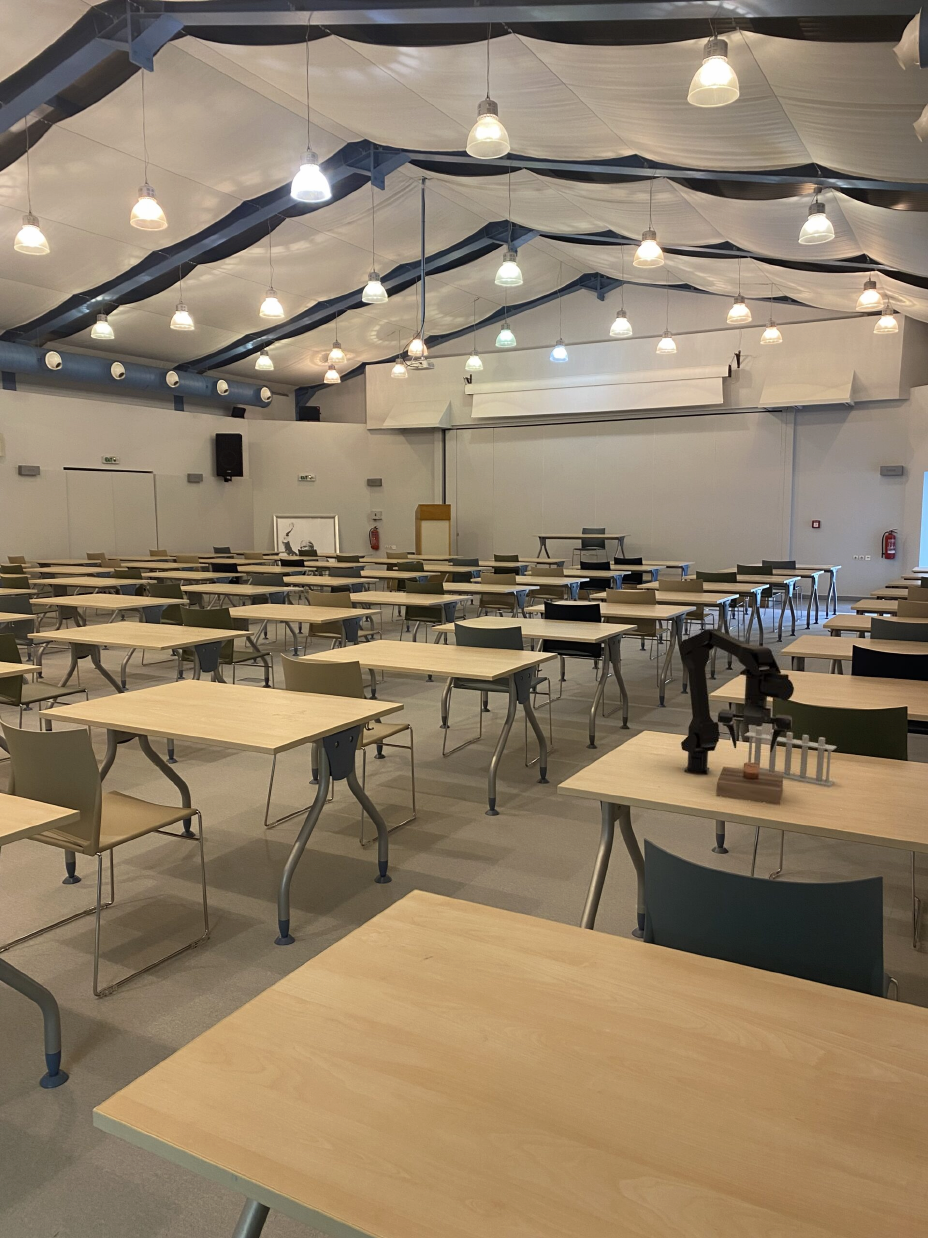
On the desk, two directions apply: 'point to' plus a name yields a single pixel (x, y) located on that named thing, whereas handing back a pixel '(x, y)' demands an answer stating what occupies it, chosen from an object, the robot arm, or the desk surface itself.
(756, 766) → the plunger
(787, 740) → the test tube rack
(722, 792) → the press housing
